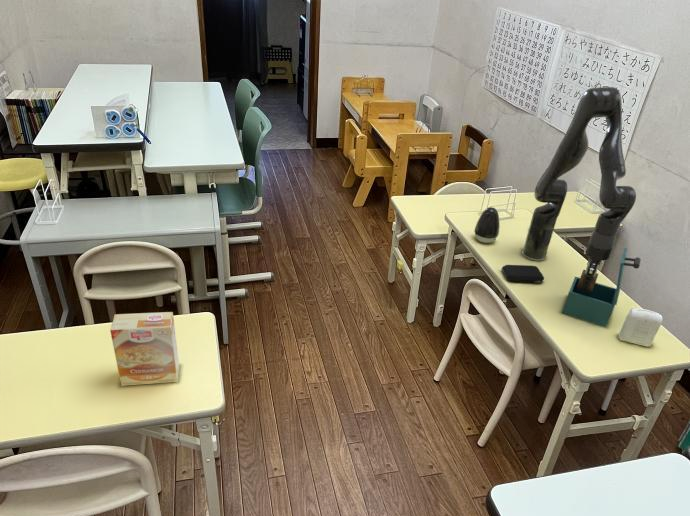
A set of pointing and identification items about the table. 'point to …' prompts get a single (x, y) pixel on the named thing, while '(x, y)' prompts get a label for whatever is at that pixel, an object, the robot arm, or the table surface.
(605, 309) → the chest
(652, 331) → the photo printer
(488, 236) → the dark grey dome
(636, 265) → the lid
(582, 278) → the block
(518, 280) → the carrying case
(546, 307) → the table surface
